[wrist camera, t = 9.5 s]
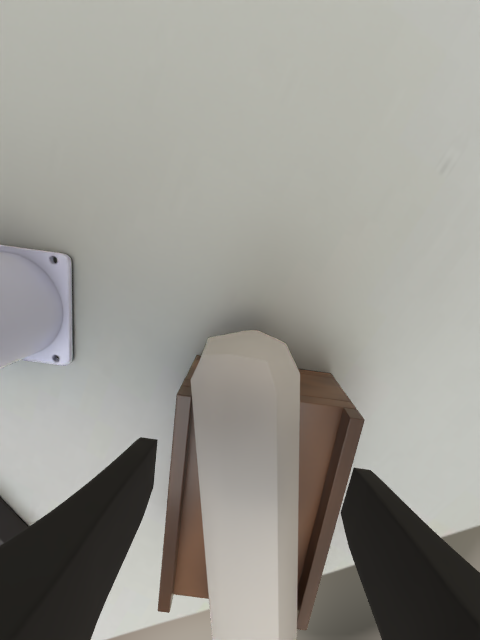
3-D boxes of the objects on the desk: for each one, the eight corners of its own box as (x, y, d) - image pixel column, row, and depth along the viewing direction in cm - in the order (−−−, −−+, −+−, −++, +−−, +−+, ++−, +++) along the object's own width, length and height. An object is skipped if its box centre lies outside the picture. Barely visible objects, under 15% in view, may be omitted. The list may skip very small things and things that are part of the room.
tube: (156, 344, 10) (201, 749, 16) (296, 357, 8) (292, 810, 14) (215, 316, 15) (234, 633, 21) (312, 320, 13) (304, 666, 19)
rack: (178, 526, 23) (157, 611, 18) (196, 354, 20) (176, 394, 14) (292, 540, 24) (306, 630, 18) (331, 373, 20) (364, 419, 14)
